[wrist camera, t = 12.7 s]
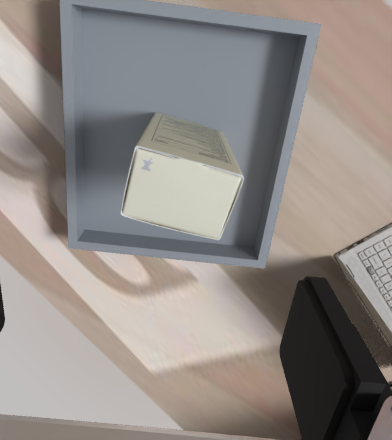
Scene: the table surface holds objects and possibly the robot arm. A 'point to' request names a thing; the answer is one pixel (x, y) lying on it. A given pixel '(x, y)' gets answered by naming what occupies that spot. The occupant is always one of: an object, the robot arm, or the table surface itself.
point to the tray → (178, 115)
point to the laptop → (372, 275)
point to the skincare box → (182, 178)
